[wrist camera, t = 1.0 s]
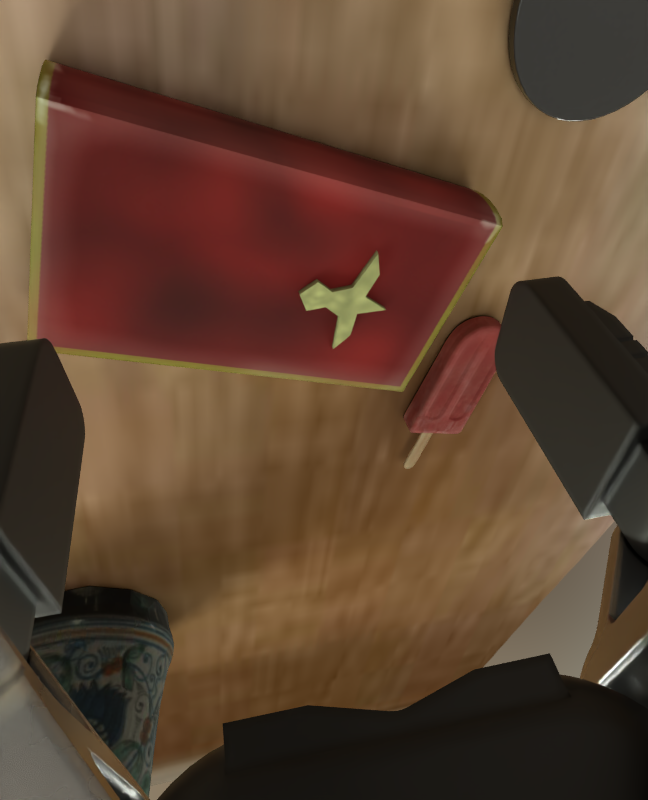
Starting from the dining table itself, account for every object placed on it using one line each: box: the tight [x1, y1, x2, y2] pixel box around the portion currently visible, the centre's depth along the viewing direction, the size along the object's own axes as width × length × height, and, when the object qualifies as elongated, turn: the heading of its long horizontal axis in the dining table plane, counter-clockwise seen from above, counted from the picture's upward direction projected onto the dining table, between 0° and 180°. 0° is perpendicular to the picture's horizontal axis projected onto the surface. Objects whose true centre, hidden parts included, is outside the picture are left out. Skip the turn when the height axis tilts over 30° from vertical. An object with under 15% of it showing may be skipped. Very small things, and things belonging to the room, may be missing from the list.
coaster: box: [509, 0, 648, 121], centre depth 26 cm, size 10×10×1 cm
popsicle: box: [404, 316, 501, 469], centre depth 42 cm, size 4×2×15 cm
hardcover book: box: [27, 60, 503, 392], centre depth 29 cm, size 12×21×4 cm, turn 69°
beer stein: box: [30, 586, 174, 798], centre depth 47 cm, size 16×19×25 cm
